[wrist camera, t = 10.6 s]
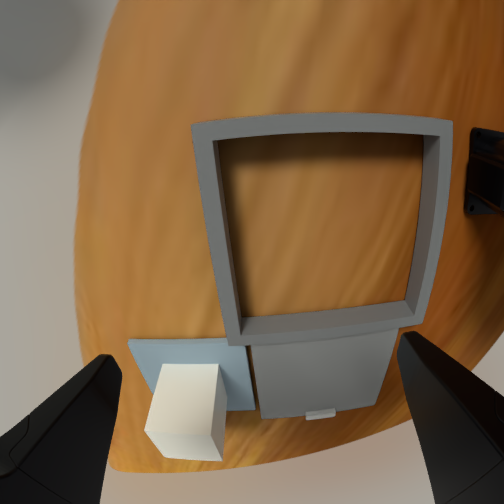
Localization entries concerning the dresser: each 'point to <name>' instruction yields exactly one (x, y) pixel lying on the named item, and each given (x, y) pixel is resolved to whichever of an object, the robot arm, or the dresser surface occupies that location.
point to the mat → (198, 352)
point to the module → (189, 412)
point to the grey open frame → (329, 321)
